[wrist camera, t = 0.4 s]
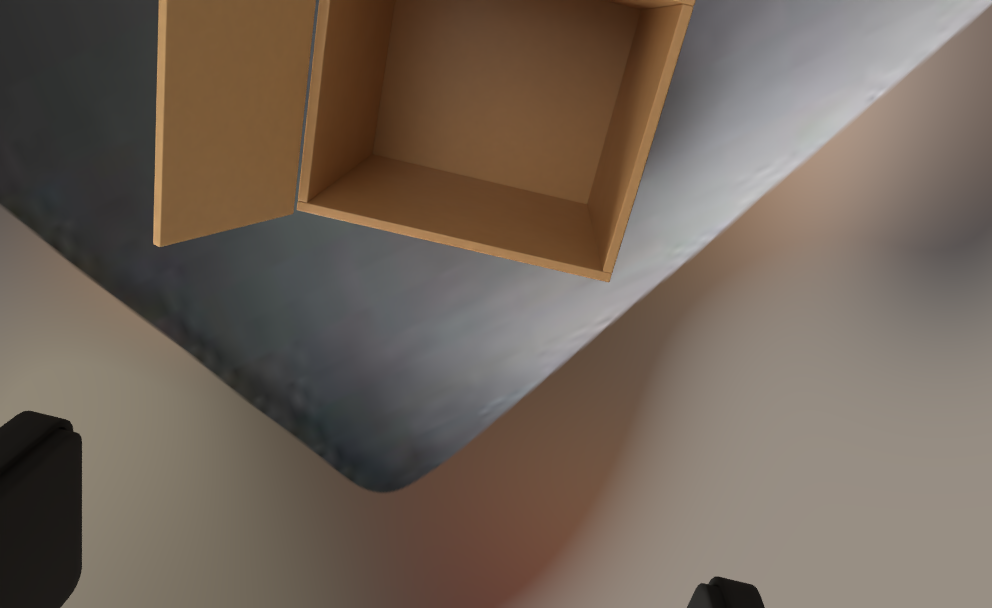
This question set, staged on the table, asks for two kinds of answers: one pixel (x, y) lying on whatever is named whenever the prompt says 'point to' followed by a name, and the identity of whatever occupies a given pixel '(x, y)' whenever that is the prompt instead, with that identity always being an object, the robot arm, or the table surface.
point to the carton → (489, 121)
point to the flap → (228, 113)
